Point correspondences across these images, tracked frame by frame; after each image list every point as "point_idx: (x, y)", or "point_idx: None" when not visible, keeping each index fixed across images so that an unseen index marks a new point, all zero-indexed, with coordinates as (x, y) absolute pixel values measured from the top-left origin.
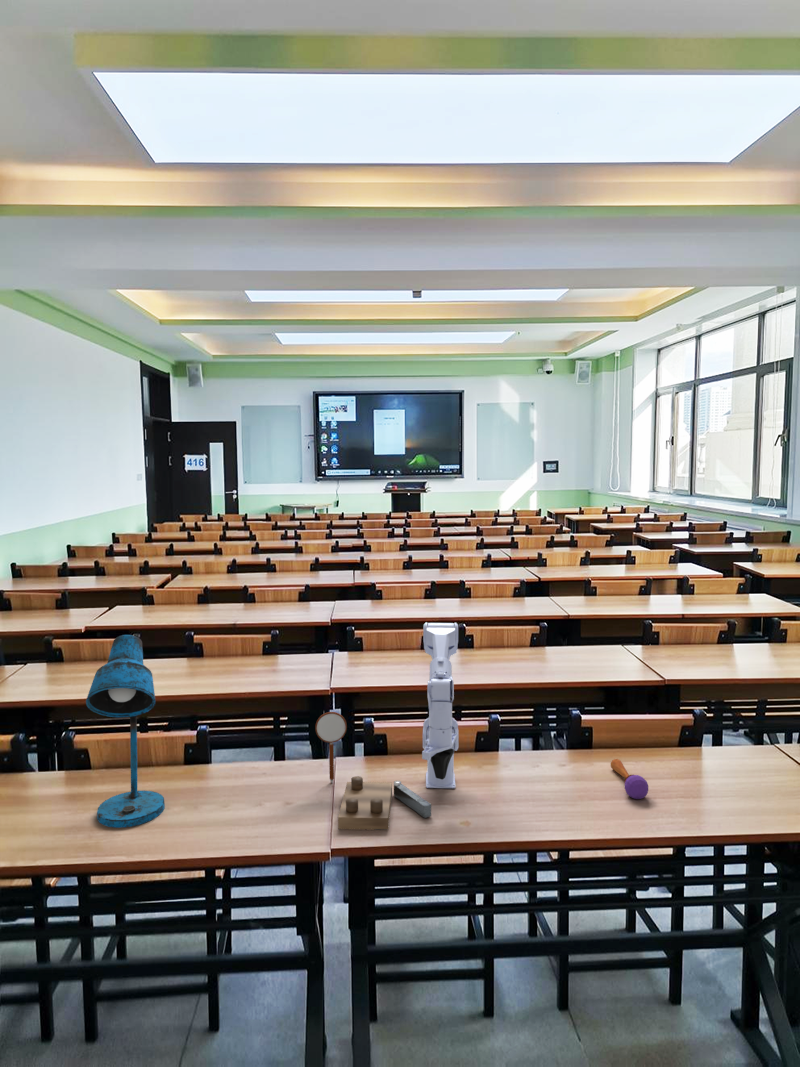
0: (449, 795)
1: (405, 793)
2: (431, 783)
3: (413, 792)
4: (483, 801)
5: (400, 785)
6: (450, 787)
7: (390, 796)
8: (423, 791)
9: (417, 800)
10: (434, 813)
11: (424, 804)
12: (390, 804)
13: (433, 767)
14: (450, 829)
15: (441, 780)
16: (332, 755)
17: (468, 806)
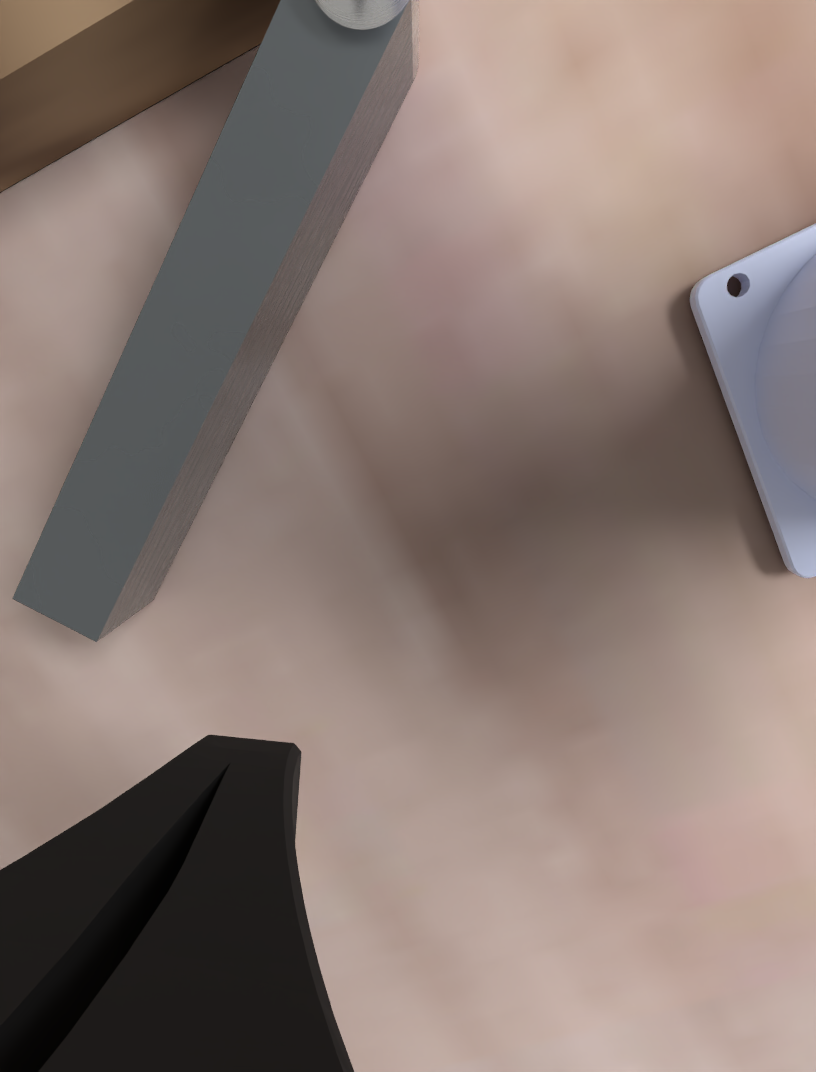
0: (631, 576)
1: (185, 226)
2: (773, 317)
3: (246, 318)
4: (640, 874)
5: (343, 35)
6: (778, 535)
7: (20, 68)
8: (608, 292)
9: (86, 464)
10: (235, 593)
11: (49, 579)
12: (66, 122)
13: (55, 845)
14: (69, 809)
15: (804, 447)
16: None
17: (498, 799)
